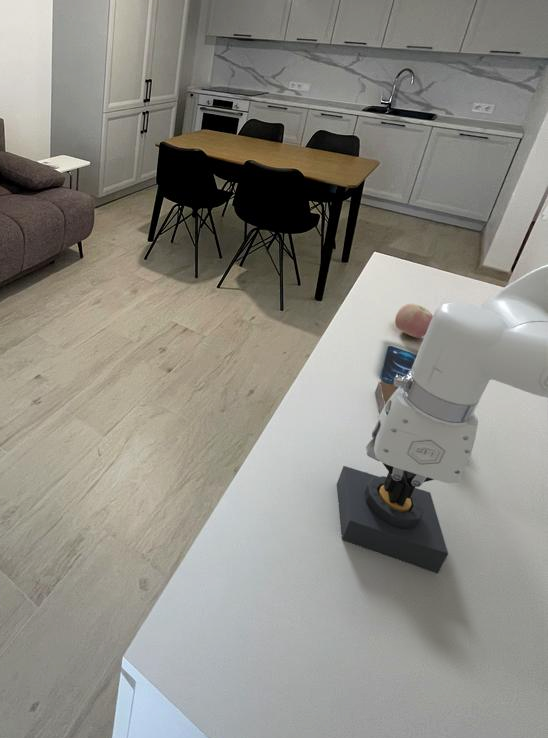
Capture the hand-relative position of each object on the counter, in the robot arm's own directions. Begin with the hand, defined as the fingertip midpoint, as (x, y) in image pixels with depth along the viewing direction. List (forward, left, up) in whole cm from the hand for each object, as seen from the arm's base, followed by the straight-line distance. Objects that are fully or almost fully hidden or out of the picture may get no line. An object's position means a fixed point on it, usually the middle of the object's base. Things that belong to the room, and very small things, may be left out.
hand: (394, 495), depth 70 cm
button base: (0, 0, -6) cm, 6 cm away
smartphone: (-10, -43, -6) cm, 45 cm away
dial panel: (-9, -27, -6) cm, 29 cm away
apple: (-14, -59, -6) cm, 61 cm away
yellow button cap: (0, 0, -2) cm, 2 cm away
